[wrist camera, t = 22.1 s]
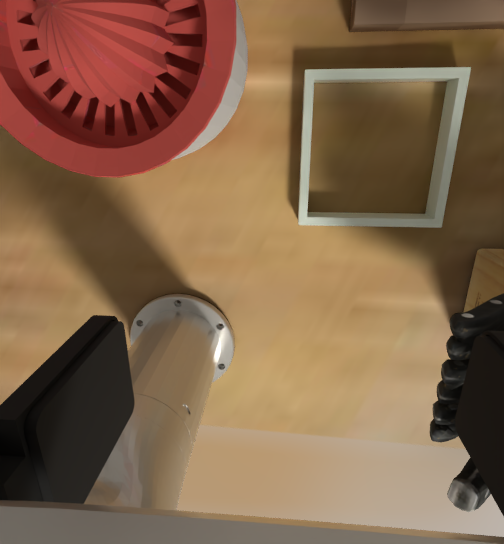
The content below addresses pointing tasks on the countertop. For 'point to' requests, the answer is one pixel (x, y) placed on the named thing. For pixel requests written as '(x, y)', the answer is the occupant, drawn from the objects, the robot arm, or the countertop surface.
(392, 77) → the ring
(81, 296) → the countertop surface
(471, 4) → the square frame
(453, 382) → the knife block
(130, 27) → the citrus juicer
